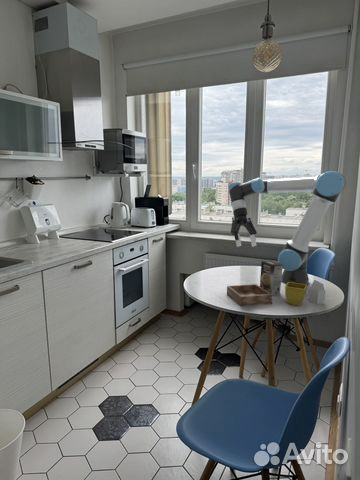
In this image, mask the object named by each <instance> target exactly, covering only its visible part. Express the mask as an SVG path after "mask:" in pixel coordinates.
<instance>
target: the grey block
mask: <svg viewBox="0 0 360 480" xmlns="http://www.w3.org/2000/svg"><path fill="white" fill-rule="evenodd" d="M309 287H310V288H309V298H308V300H310V301H311V302H312V303H314V304H316V305H325V299H326V289H325V286H324V283H323V282H320V281H318V280H316V279H313V282H312V283H311V286H309Z"/></svg>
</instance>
